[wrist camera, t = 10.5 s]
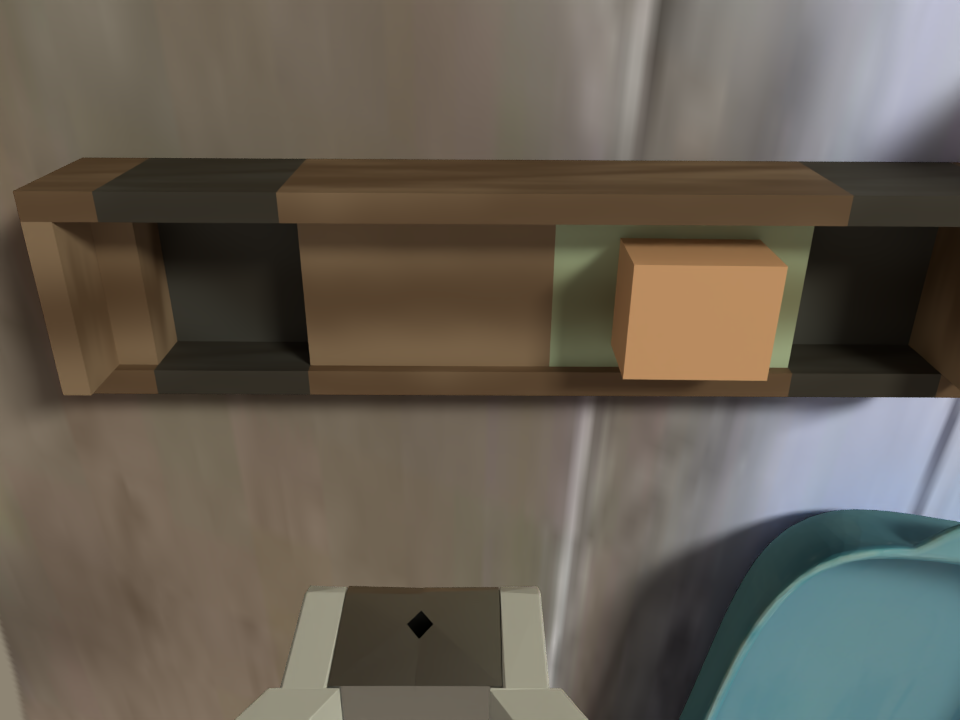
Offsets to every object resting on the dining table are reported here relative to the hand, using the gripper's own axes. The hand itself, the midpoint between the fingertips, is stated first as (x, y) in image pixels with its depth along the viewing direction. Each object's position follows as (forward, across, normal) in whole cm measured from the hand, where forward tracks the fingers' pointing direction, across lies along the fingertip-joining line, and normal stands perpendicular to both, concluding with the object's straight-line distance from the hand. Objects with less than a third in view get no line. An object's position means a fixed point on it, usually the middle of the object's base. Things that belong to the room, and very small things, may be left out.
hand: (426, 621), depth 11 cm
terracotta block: (+25, -10, +6) cm, 28 cm away
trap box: (+28, -3, +6) cm, 29 cm away
